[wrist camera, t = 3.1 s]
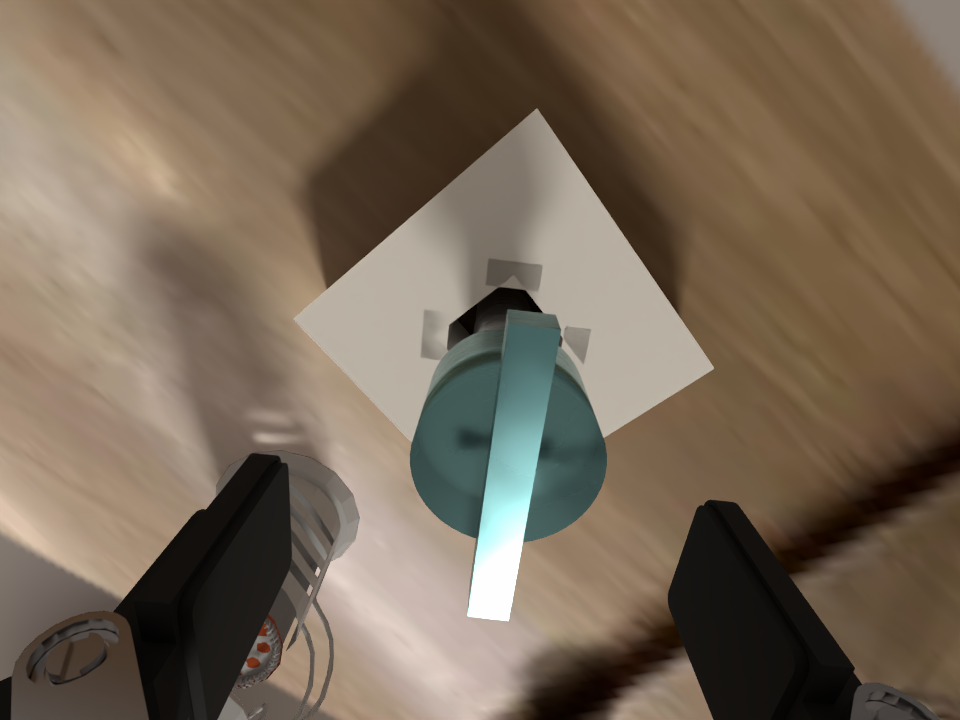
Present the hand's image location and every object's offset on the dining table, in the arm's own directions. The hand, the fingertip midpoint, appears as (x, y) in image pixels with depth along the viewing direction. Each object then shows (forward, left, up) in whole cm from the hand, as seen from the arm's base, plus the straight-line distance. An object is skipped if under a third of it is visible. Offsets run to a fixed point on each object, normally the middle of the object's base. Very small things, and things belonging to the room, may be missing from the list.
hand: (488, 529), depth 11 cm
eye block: (0, 0, -18) cm, 18 cm away
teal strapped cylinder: (0, 0, -18) cm, 18 cm away
